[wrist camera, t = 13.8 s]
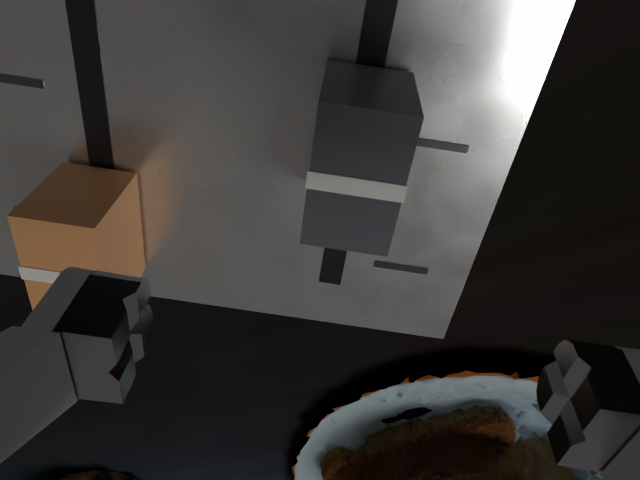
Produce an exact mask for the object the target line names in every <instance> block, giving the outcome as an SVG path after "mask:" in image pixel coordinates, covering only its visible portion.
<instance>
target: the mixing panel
mask: <svg viewBox="0 0 640 480" xmlns="http://www.w3.org/2000/svg"><path fill="white" fill-rule="evenodd" d="M575 1H576V0H0V274H4V275H11V276H18V277H21V275H20V272H19V268H18V266H19V265H20V262H19V258H18V255H17V251H16V247H15V244H14V240H13V236H12V233H11V229H10V225H9V222H8V218H7V215H8V214H9V213H10V212H11V211H12V210H13V209H14V208H15V207H16V206H17V205H19V204H20V203H21V202H22V201H23V200H24V199H25V198H26V197H27V196H28V195H29V194H30V193H31V192H32V191H33V190H34V189H35V188H36V187H37V186H38V185H39V184H41V183H42V182H43V181H44V180H45V179H46V178H47V177H48V176H49V175H50V174H51V173H52V172H53V171H54V170H55V169H56V168H57V167H58V166H59V165H60V164H61V163H63V162H66V163H73V164H79V165H86V166H93V167H99V168H106V169H113V170H119V171H126V172H133V173H137V179H138V191H139V202H140V213H141V224H142V235H143V247H144V258H145V270H144V272H143V273H142V275H141V277H140V278H145V279H147V280H149V282H150V289H151V295H150V296H154V297H161V298H168V299H174V300H181V301H188V302H195V303H202V304H209V305H215V306H222V307H229V308H236V309H243V310H249V311H256V312H263V313H270V314H277V315H284V316H290V317H297V318H304V319H311V320H318V321H325V322H331V323H338V324H345V325H352V326H359V327H365V328H372V329H379V330H386V331H393V332H400V333H406V334H413V335H420V336H427V337H434V338H441V339H443V338H444V336H445V333H446V330H447V328H448V325H449V323H450V320H451V318H452V315H453V313H454V310H455V307H456V305H457V302H458V300H459V297H460V295H461V292H462V290H463V287H464V284H465V282H466V279H467V277H468V274H469V272H470V269H471V267H472V264H473V261H474V259H475V256H476V254H477V251H478V249H479V246H480V244H481V241H482V238H483V236H484V233H485V231H486V228H487V226H488V223H489V221H490V218H491V215H492V213H493V210H494V208H495V205H496V203H497V200H498V197H499V195H500V192H501V190H502V187H503V185H504V182H505V180H506V177H507V174H508V172H509V169H510V167H511V164H512V162H513V159H514V157H515V154H516V151H517V149H518V146H519V144H520V141H521V139H522V136H523V134H524V131H525V128H526V126H527V123H528V121H529V118H530V116H531V113H532V111H533V108H534V105H535V103H536V100H537V98H538V95H539V93H540V90H541V88H542V85H543V82H544V80H545V77H546V75H547V72H548V70H549V67H550V64H551V62H552V59H553V57H554V54H555V52H556V49H557V47H558V44H559V41H560V39H561V36H562V34H563V31H564V29H565V26H566V24H567V21H568V18H569V16H570V13H571V11H572V8H573V6H574V3H575ZM327 59H329V60H335V61H342V62H348V63H355V64H361V65H367V66H374V67H380V68H387V69H393V70H400V71H406V72H413V73H414V77H415V81H416V86H417V90H418V94H419V98H420V102H421V107H422V111H423V115H424V120H423V124H422V127H421V131H420V135H419V139H418V143H417V146H416V150H415V154H414V158H413V162H412V165H411V169H410V173H409V177H408V181H407V184H406V185H408V189H407V192H406V196H405V200H404V203H401V207H400V211H399V215H398V219H397V222H396V226H395V230H394V234H393V238H392V241H391V245H390V249H389V253H388V256H387V257H385V256H378V255H371V254H365V253H358V252H351V251H344V250H338V249H331V248H324V247H318V246H311V245H304V244H299V243H300V236H301V228H302V221H303V213H304V206H305V198H306V191H307V189H306V188H305V186H306V178H307V171H308V170H309V168H310V161H311V153H312V146H313V138H314V131H315V123H316V116H317V108H318V101H319V96H320V91H321V87H322V82H323V77H324V72H325V67H326V63H327Z"/></svg>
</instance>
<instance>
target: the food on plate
mask: <svg viewBox="0 0 640 480" xmlns="http://www.w3.org/2000/svg"><path fill="white" fill-rule="evenodd" d="M538 377H539V376H536V377H531V378H523V379H522V378H519V376H518V373H517V372H515V373H514V374H512V375H511V376H508V375H505V374H501V373H474V372H471V371H467V370H466V371H463V372H460V373H455V374H449V375H447V376H446V377H444V378H442V379H441V378H438V377H436V376H431V375H427V376H424V377H422V378H420V379H417V380H415V382H414V383H410V382H409V377H408V378H407V379H405V380H404V381H403V382H402V383H400V384H399V385H394V386H391V387H389V388H386V389H381V390H378V391H376V392H368V393H365V394H362V397H361V399H360V400H359V401H356V402H354V403H351V404H349V405H346V406H342V407H337V408H332V409H333V410H334V411H335V412H333V413H331V414H328V415H326V416H325V417H324V418H323V419H322V420H321V422H320V423H319V425H318V427H316V428H314V429H312V430H310V431H309V433H308V434H307V436H311V437H310V438H309V440H308V441H307V443H306V444H305V446H304V447H303V448H302V450H301V451H300V455H298V456H296V457H297V460H298V462H297V464H296V465H295V466H293V467H292V470H293V474H294V480H604V479H603V478H602V477H601V475H600V474H601V472H595V471H589V470H583V469H577V468H571V467H565V466H559V465H557V464H556V461H555V458H554V455H553V452H552V448H551V445H550V442H549V439H548V436H547V432H548V430H549V428H550V426H551V423H550V422H549V421H548V420H547V419H546V418H545V417H544V416H543V415H542V414H541V413H540V409H539V406H538V403H537V394H536V389H537V383H538ZM419 407H426V408H428V409H431V410H432V411H431V412H429V413H426V414H424V415H422V416H420V417H416V418H413V419H411V420H406V419H402V420H399V421H397V422H393V423H383V422H382V421H381V420H382V419H386V418H390V417H394V416H398V415H397V414H401V413H403V412H404V411H405V410H409V409H413V408H419Z"/></svg>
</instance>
